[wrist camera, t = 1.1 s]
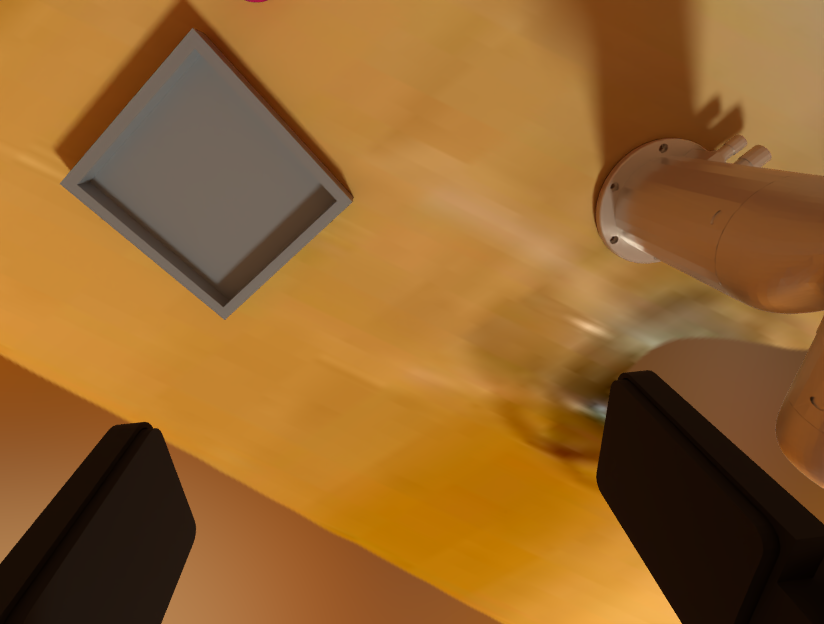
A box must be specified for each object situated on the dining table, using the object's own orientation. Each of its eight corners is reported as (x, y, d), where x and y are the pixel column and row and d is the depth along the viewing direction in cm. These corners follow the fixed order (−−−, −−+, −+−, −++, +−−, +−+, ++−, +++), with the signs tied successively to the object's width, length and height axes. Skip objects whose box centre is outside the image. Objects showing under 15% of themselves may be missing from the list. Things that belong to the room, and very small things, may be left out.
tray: (203, 33, 37) (192, 28, 34) (353, 197, 43) (352, 201, 41) (77, 179, 40) (59, 183, 38) (232, 309, 47) (224, 319, 45)
